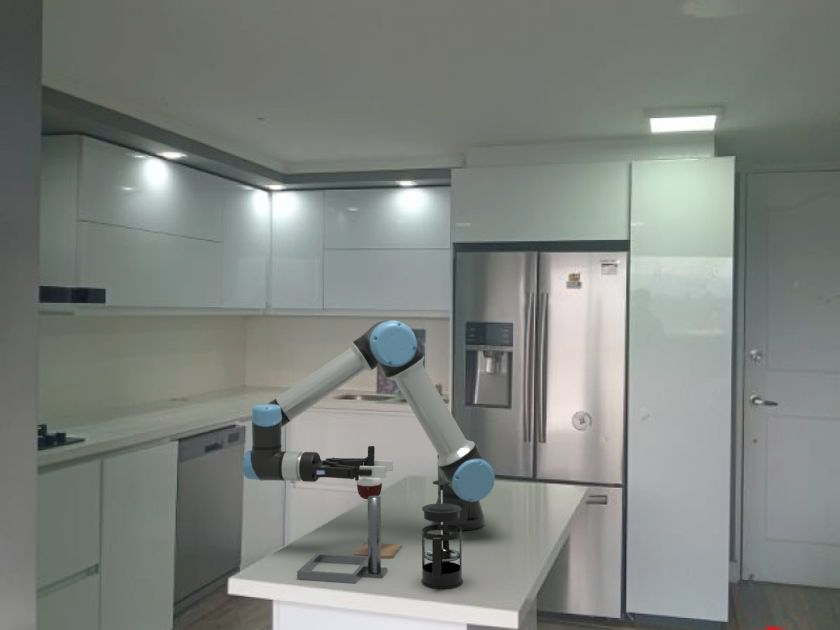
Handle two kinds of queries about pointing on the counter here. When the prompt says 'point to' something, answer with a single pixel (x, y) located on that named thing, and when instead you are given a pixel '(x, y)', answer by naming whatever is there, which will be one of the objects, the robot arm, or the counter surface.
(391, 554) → the walnut coaster
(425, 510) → the french press
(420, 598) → the counter surface
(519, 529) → the counter surface
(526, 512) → the counter surface
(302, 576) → the ring stand
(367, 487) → the cocoa
